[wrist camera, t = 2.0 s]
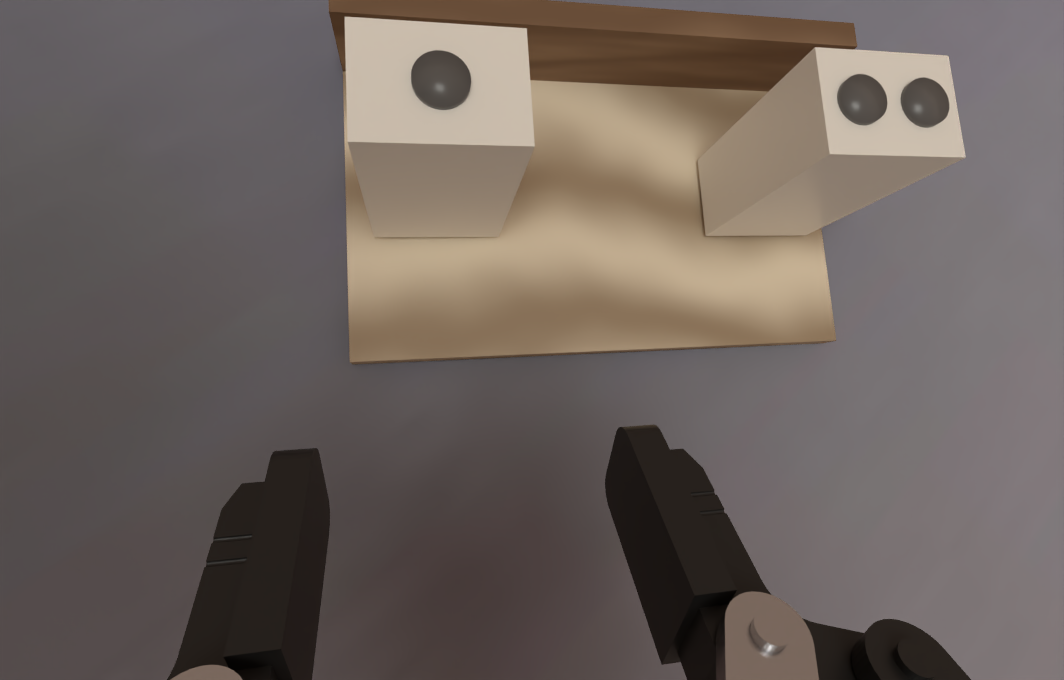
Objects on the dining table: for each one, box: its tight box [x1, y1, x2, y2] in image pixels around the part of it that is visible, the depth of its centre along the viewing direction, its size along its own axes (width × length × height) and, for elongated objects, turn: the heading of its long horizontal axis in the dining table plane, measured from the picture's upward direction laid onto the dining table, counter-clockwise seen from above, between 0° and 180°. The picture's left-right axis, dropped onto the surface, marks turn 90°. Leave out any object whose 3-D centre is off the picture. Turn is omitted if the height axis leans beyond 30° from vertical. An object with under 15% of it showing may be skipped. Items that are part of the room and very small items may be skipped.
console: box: [329, 0, 857, 364], centre depth 27 cm, size 15×24×5 cm, turn 94°
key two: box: [698, 47, 966, 236], centre depth 25 cm, size 4×6×9 cm
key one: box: [345, 17, 535, 237], centre depth 22 cm, size 4×6×9 cm
